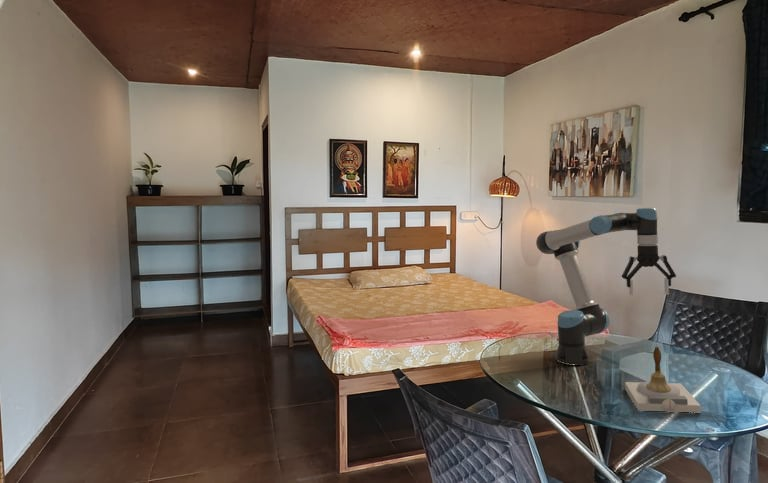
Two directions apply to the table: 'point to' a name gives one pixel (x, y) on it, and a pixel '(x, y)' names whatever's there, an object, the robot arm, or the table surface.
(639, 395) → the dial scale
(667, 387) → the hand bell
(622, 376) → the table surface
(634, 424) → the table surface
